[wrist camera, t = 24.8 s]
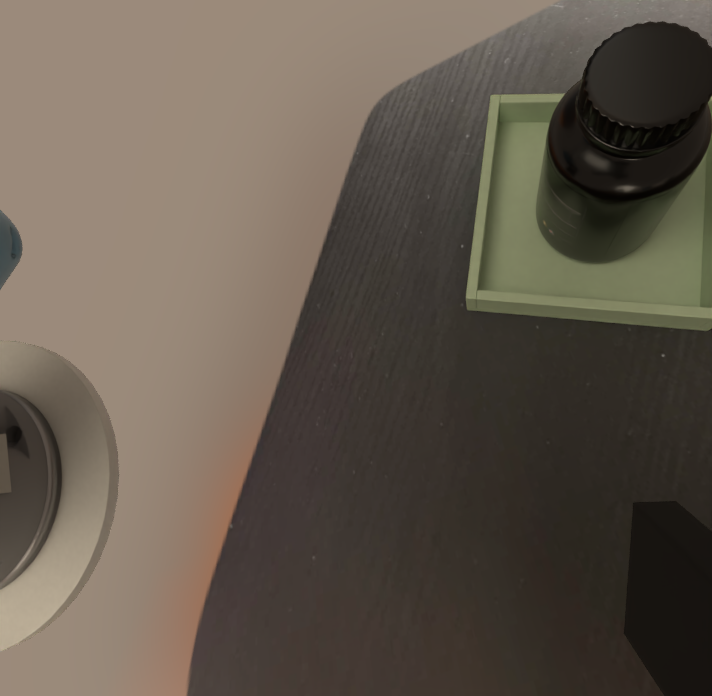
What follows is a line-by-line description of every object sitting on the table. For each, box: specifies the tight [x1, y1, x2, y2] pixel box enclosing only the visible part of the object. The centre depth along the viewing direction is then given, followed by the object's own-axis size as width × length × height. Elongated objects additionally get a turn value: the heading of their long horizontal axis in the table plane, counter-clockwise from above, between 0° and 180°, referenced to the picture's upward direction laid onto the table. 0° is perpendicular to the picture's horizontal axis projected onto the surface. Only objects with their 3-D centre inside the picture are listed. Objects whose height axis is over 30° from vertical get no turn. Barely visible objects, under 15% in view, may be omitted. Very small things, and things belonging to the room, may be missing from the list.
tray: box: [466, 94, 712, 331], centre depth 31 cm, size 13×13×2 cm
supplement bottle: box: [536, 21, 712, 263], centre depth 26 cm, size 7×7×12 cm
